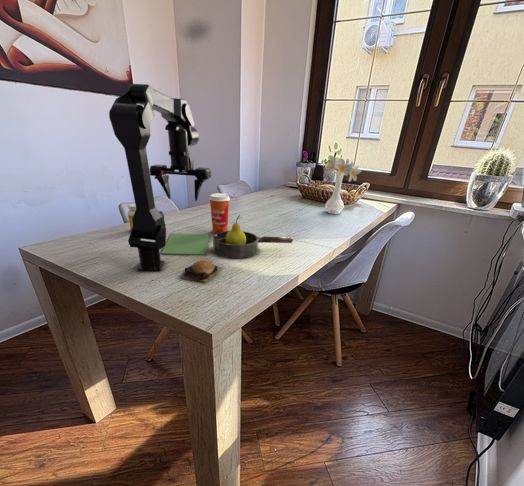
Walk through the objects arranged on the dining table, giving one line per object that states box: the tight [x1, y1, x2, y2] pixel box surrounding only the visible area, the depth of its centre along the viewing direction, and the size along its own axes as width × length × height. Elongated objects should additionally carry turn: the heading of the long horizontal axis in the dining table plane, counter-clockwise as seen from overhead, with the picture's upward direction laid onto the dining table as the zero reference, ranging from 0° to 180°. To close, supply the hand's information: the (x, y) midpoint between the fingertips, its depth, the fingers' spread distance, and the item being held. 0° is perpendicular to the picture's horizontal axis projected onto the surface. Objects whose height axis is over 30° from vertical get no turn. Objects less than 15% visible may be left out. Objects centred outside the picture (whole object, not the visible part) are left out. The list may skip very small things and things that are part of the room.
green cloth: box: [160, 233, 210, 256], centre depth 109 cm, size 20×14×1 cm
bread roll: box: [181, 259, 221, 283], centre depth 89 cm, size 11×8×4 cm
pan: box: [212, 230, 259, 259], centre depth 105 cm, size 15×15×4 cm
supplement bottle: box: [127, 203, 136, 231], centre depth 115 cm, size 5×5×10 cm
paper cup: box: [208, 192, 231, 235], centre depth 118 cm, size 8×8×14 cm
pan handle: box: [256, 236, 294, 244], centre depth 105 cm, size 13×2×2 cm, turn 94°
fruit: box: [226, 214, 246, 245], centre depth 103 cm, size 7×7×12 cm
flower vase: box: [324, 156, 362, 215], centre depth 152 cm, size 13×18×25 cm
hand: (183, 199), depth 105 cm, fingers open, 9 cm apart
